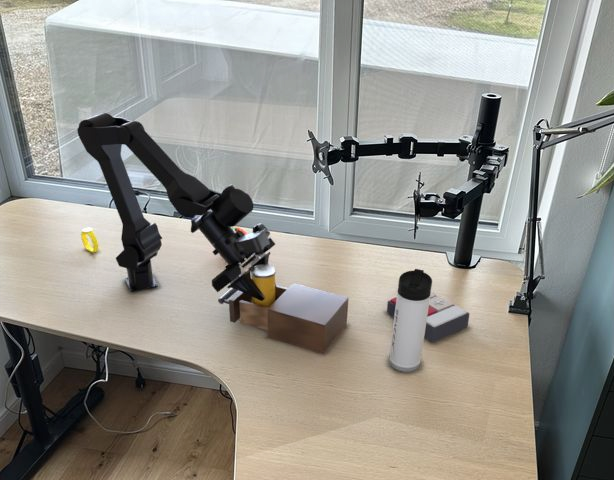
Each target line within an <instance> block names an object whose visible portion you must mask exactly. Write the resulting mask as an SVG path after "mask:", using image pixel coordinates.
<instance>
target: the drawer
mask: <svg viewBox="0 0 614 480" xmlns="http://www.w3.org/2000/svg"><path fill="white" fill-rule="evenodd" d="M276 286H277V287H276V288H275V301H276V300H277V299H278V298H279V297H280V296H281V295H282V294H283V293H284V292H285V291H286V290H287V289H288V288H289V287H285V286H281V285H277V284H276ZM217 302H218V303H219V304H220V305H223V304H227V305H228V310H229V311H228V312H229V322H230V323H232V324H236V322H237V321H239V320H240V323H241V324H245V325H248V326H252V327H254V328H259V329H262V330H265V331H268V315H267V312H268V311H267V309H268V307H264V306H261V305H257V304H253V303H252V296H250V295H248V294H246V293H243V292H241V291H238V290H236V289H233V288H229V289H228V290H227V291H226V292H225V293H223V295H221V296H220V297H219V298H218V300H217Z"/></svg>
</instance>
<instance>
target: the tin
mask: <svg viewBox="0 0 614 480" xmlns="http://www.w3.org/2000/svg"><path fill="white" fill-rule="evenodd" d="M250 274H251V279H252V280H253V281H254V283H255V284H256V285H257V287H258V288H259V290H260V291H261V292H262V294H263V296H264V297H265V299H264V300H263V301H260V300H258V299H256V298H254V297H252V303H253V304H257V305H261V306H264V307H268V308H269V307H270V306H271V305H272V304H273V303H274V302H275V284H276V268H275V267H274V266H273V265H270V264H269V265H264V264H262V265H256V266H254V267H253V268H252V269H251V271H250Z"/></svg>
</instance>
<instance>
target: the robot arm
mask: <svg viewBox="0 0 614 480" xmlns="http://www.w3.org/2000/svg"><path fill="white" fill-rule="evenodd" d="M76 129H77V135H78V137H79V140H80V142H81V144H82V145H83V148H84V149H85V151H86V153H88V154H89V156H91V157H92V158H93V159H94V160H95V161H96V162H97V163H98V165H99V167H100V170H101V173H102V175H103V178H104V181H105V183H106V186H107V188H108V191H109V193H110V195H111V198H112V200H113V203H114V206H115V208H116V211H117V213H118V216H119V219H120V221H121V224H122V230H121V239H120V241H121V243H122V247H123V250H121V252H120V253H119V254H118V255H117V256H116V257H115V260H116V263H117V265H118V266H119V267H120V268H124V269H126V274H127V277H125V279H124V280H125V283H126V286H127V288H128V290H129V291H130V292H131V293H134V292H140V291H144V290H149V289H154V288H158V283H157V281H156V280H155V277H154V275H153V268H152V259H153V258H155V257H157V256H158V252H159V251H160V250H161V247H162V245H163V243H162V239H163V237H162V235H161V233H160V232H159V228H158V225H157V223H156V222H152V223H151V222H150V221H148V219H146V218H145V215H144V214H143V212H142V209H141V206H140V203H139V201H138V198H137V195H136V193H135V190H134V188H133V187H134V186H133V184H132V182H131V179H130V176H129V173H128V170H127V169H126V166H125V163H124V160H123V158H122V146H125V147H127V149H129V150H130V152H131V153H133V155H134V156H135V157H136V158H137V159H138V160H139V161H140V163H142V164H143V165H144V167H145V168H146V169H147V171H149V172H150V173H151V174H152V175H153V176H154V177H155V178H156V180H157V181H158V182H160V184H161V185H162V186H163V187H164V189H165V191H166V195H167V198H168V201H169V202H170V204H171V205H172V206H173V207H174V209H175V211H176V212H177V213H178V214H179V215H180V216H181V217H182V218H189V219H191V218H192V219H191V220H190V223H191V224H190V233H191V234H194V233H195V232H197V231H200V233H202V234H203V236H204V237H205V238H206V239H207V241H208V242H209V243H210V245H211V246H212V247H213V248H214V249H213V250H212V253H213V255H214V256H217V255H218V254H219V256H220V257H221V258H222V260H223V261H224V262H225V263H226V265H225V266H224V269H223V270H222V271H221V272H219V273H218V274H217V275H216V276H215V277H213V278H212V279H211V287H213V289H214V291H216V292H217V293H220V291H222V290H223V289H224V288H227V289H228V290H229V289H231V288H233V289H236V290H238V291H241V292H243V293H246V294H248V295H250V296H252V297H254V298H256V299H258V300H260V301H263V300H264V299H265V297H264V296H263V294H262V292H261V291H260V290H259V288H258V287H257V285H256V284H255V283H254V281H253V280H252V274H251V269H252V268H253V267H254V266H256V265H262V264H264V265H270V264H269V260H270V255H271V251H270V250H271V249H272V248H273V247H274V246H276V243H275V241H274V240H273V239H272V238H271V237H270V235H271V232H270V231H269V229H268V228H267V227H266V226H265V225H264V224H263V223H262V222H260V223H256V225H254V226H253V227H252V231H250V232H249V233H247V234H246V235H245V234H244V233H243V232H242V231H240V230H238V231H237V232H236V231H235V230H234V229H233V228H232V227H236V226H237V225H239V223H240V222H241V221H243V220H244V219H245V218H246V217H247V216H248V215H250V214H251V213H252V212H253V210H254V208H255V207H254V201H253V199H252V197H251V196H250V195H249V193H246V192H245V191H244V190H242V189H239V188H236V187H234V185H233V184H229V185H228V186H226V187H225V188H223V190H222V192H219V191H216V190H213V189H211V188H208V187H207V185H205V184H204V183H203V182H202V181H201V180H199V179H198V178H197V177H195V176H193V175H191V174H190V173H189V174H188V173H186V172H184V171H183V170H182V169H181V168H180V167H179V166H178V165H177V164H176V163H175V162H174V161H173V159H172V158H171V157H170V156H169V155H168V154H167V152H165V151H164V150H163V148H161V146H160V145H159V144H158V143H157V142H156V141H155V140H154V139H153V138H152V136H151V135H150V134H149V133H148V132H147V131H146V130H145V127H144V125H143V123H142V122H140V121H137V120H130V119H128V118H126V117H122V116H121V117H119V116H112V115H111V114H109V113H108V112H101V113H98V114H96V115H93V116H91V117H88V118H85V119H83V120H81V121H80V122H79V124H78V127H77V128H76ZM266 252H267V253H266ZM249 265H250V267H248V268H247V270H246V269H244V268H246V267H247V266H249ZM276 285H277V284H276V283H275V288H276V287H277V286H276ZM238 291H237V292H238Z"/></svg>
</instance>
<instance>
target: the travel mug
mask: <svg viewBox="0 0 614 480" xmlns="http://www.w3.org/2000/svg"><path fill="white" fill-rule="evenodd" d="M397 286H398V287H397V291H396V297H397V299H396V307H395V316H394V317H393V324H392V325H393V326H392V335H391V343H390V349H389V350H390V351H389V359H388V360H389V361H388V363H389V365H390V367H392V368H393V369H394V370H397V371H399V372H403V373H410V372H414V371H416V370H417V369H419V368H420V366H421V362H422V353H423V348H424V340H425V338H424V335H425V328H426V322H427V315H428V308H429V302H430V295H431V292H432V286H433V279H432V277H431V276H430V274H428V273H426V272H425V271H424V269H418V268H414V270H408V271H405V272H402V273H401V274H400V275H399V277H398V285H397Z"/></svg>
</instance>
